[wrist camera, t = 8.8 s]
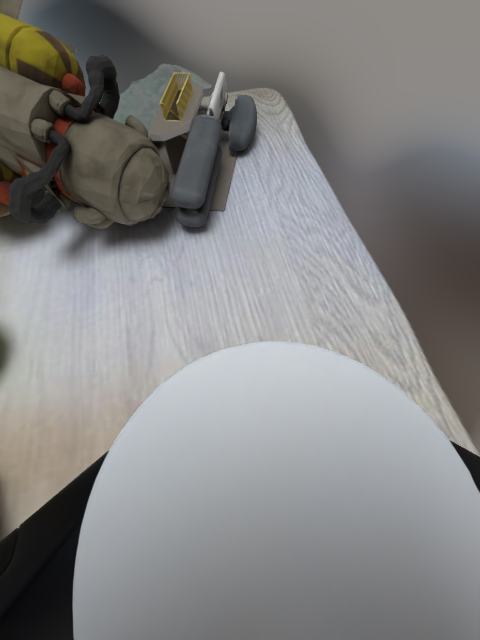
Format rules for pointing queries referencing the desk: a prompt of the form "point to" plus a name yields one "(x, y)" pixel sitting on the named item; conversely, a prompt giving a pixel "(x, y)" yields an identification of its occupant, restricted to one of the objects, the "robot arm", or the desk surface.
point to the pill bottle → (279, 510)
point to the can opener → (210, 152)
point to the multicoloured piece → (69, 135)
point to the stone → (151, 94)
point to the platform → (174, 132)
